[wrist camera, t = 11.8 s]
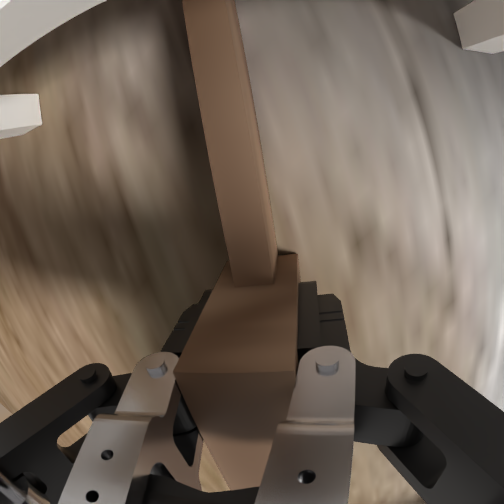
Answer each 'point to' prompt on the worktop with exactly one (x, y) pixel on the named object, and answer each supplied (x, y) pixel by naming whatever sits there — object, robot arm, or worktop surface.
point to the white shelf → (74, 3)
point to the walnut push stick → (238, 268)
